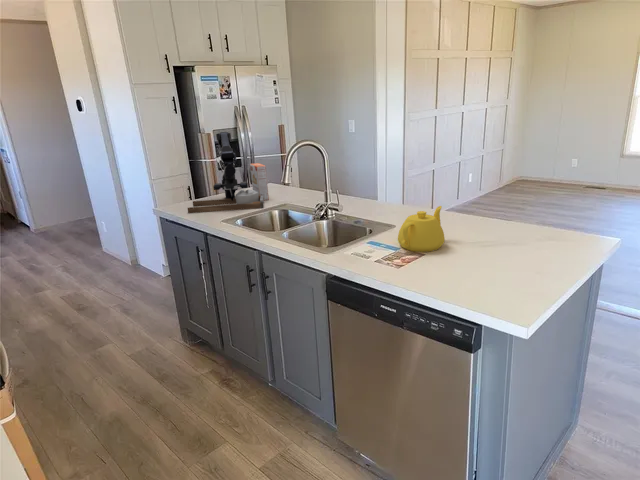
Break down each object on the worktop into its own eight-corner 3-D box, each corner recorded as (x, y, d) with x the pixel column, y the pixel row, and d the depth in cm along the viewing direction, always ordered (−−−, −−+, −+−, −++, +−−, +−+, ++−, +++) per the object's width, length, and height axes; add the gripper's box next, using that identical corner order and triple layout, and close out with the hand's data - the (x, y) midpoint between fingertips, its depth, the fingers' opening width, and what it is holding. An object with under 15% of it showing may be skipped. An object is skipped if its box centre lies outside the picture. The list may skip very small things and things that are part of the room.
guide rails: (193, 206, 252) (192, 199, 250) (263, 201, 255) (263, 194, 254) (188, 213, 236) (187, 206, 235) (263, 208, 239) (262, 201, 238)
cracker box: (252, 197, 268) (249, 163, 261) (262, 196, 270) (259, 162, 263) (259, 201, 255) (256, 166, 249) (269, 200, 258) (266, 165, 251)
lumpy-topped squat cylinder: (261, 204, 248) (260, 189, 245) (244, 209, 239) (242, 193, 236) (249, 202, 254) (248, 187, 252) (232, 207, 245) (230, 192, 242)
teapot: (422, 233, 183) (423, 201, 179) (459, 241, 171) (461, 208, 166) (384, 248, 168) (384, 214, 163) (422, 258, 155) (423, 222, 151)
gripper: (210, 176, 231) (214, 205, 236) (245, 174, 233) (248, 202, 238) (213, 173, 242) (216, 200, 247) (246, 171, 243) (249, 198, 248)
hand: (232, 200), depth 245 cm, fingers closed
